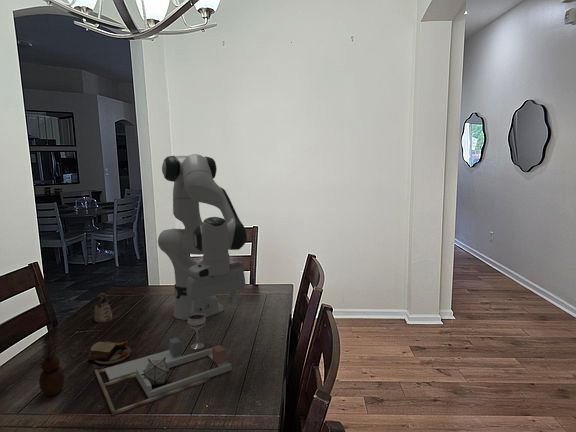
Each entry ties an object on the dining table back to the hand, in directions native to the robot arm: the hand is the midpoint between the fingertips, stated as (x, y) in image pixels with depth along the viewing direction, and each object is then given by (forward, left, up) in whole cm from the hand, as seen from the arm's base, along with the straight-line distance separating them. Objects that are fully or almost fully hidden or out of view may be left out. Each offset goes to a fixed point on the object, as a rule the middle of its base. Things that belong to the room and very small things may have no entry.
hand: (217, 305), depth 131 cm
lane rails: (+22, -5, -21) cm, 30 cm away
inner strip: (+22, -13, -21) cm, 32 cm away
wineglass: (+2, -16, -21) cm, 26 cm away
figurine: (+26, -63, -21) cm, 71 cm away
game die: (+22, +1, -21) cm, 30 cm away
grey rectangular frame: (+13, 0, -21) cm, 24 cm away
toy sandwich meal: (+30, -26, -21) cm, 45 cm away
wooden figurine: (+49, -14, -21) cm, 54 cm away
